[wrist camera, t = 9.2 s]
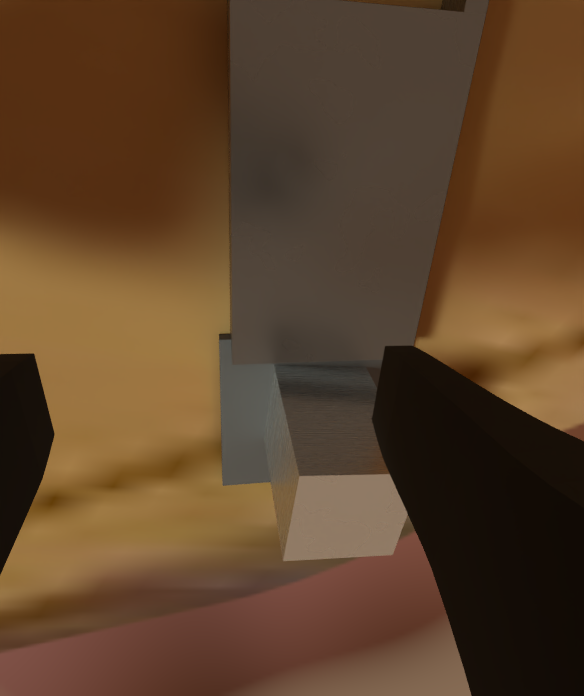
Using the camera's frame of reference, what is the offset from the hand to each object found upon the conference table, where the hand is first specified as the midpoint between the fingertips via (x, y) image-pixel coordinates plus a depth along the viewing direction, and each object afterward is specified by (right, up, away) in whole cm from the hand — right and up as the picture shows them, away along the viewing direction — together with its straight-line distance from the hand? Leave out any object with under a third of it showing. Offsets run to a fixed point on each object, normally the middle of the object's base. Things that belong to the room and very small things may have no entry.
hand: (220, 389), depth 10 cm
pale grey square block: (+3, -2, +13) cm, 14 cm away
